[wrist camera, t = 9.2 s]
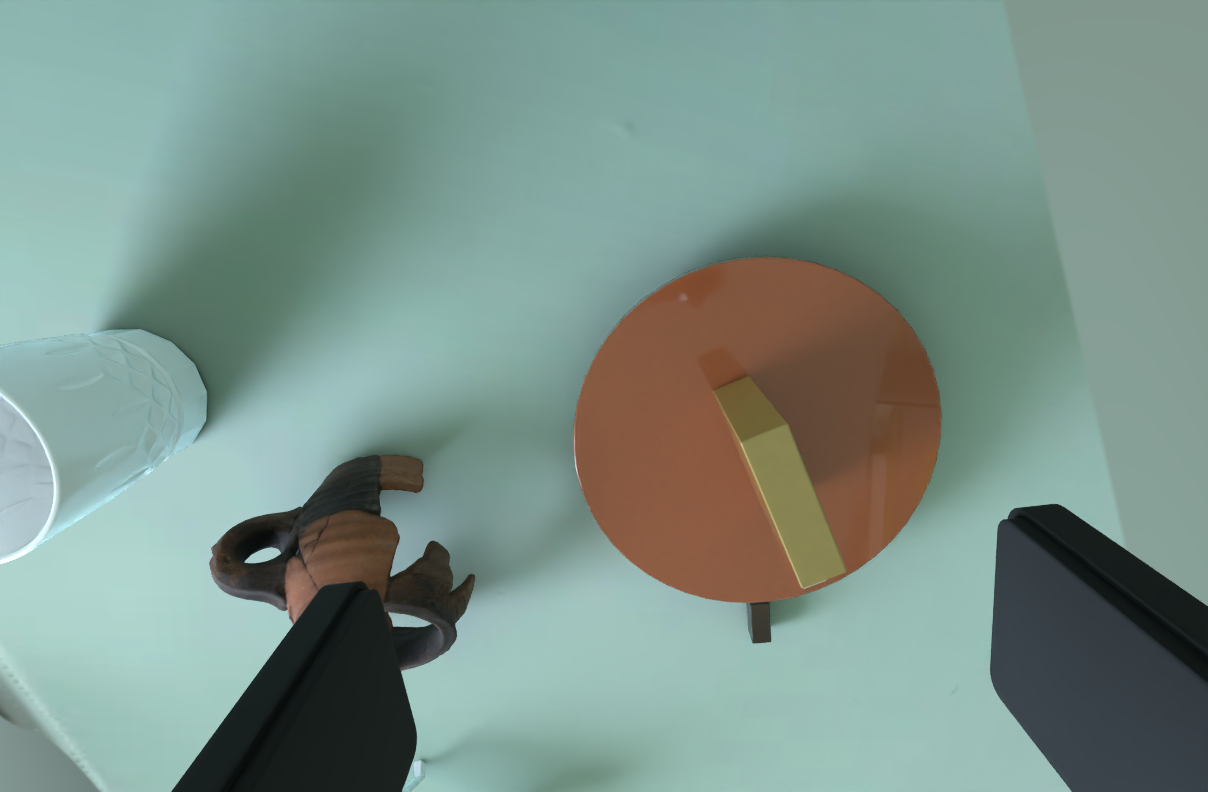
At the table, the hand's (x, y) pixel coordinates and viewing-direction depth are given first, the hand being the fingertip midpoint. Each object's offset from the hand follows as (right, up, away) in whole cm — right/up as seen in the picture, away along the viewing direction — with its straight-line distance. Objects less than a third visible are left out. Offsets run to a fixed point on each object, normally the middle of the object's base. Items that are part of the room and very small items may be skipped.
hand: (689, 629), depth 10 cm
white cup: (-25, +4, +23) cm, 34 cm away
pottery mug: (-14, -4, +25) cm, 29 cm away
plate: (+6, +1, +21) cm, 22 cm away
